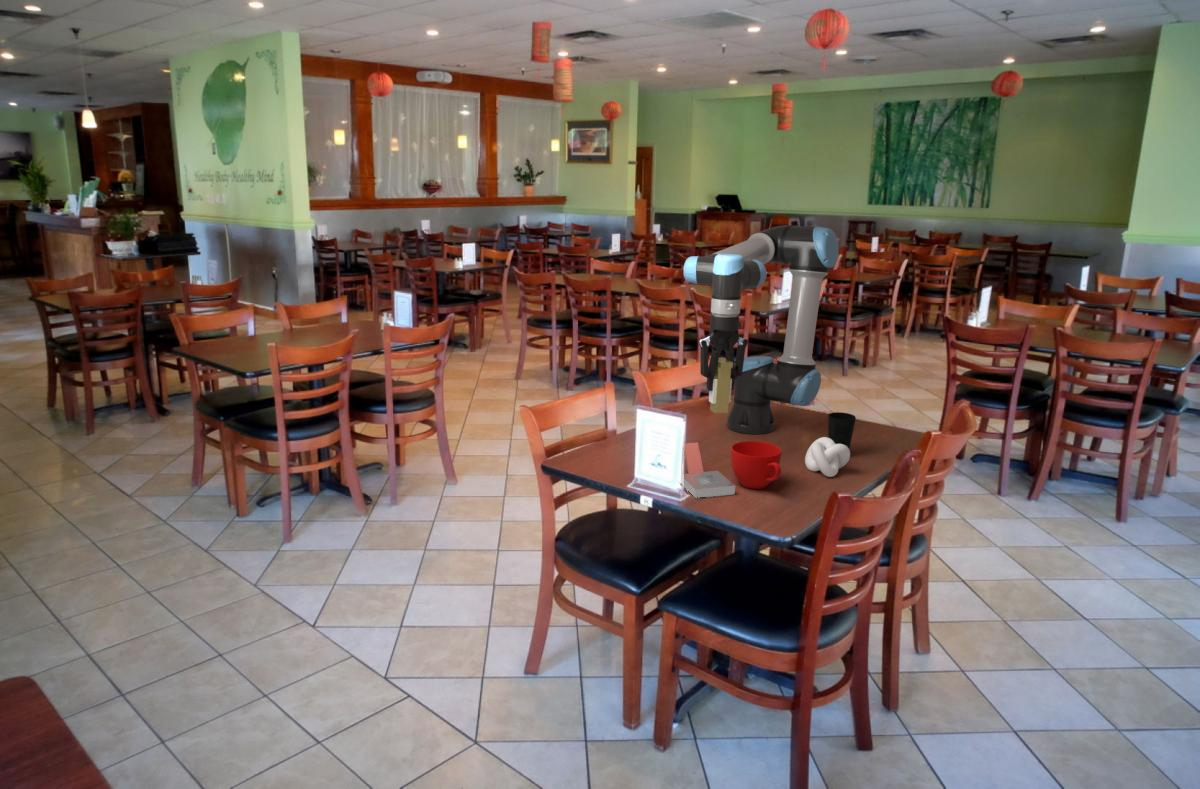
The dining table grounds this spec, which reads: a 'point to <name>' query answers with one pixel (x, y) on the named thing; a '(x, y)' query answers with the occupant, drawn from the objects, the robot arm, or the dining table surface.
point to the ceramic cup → (755, 463)
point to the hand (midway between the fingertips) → (719, 401)
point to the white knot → (826, 456)
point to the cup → (841, 427)
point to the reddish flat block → (693, 458)
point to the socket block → (708, 484)
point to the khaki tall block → (722, 386)
